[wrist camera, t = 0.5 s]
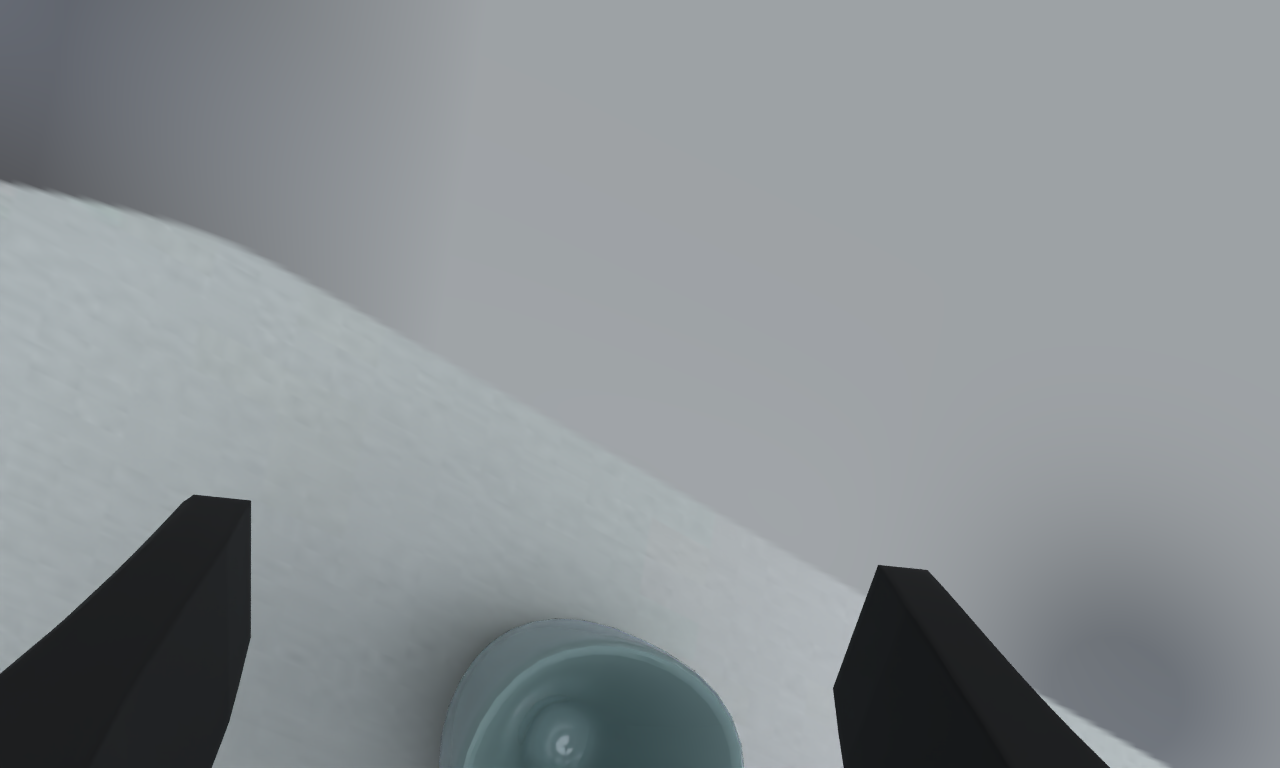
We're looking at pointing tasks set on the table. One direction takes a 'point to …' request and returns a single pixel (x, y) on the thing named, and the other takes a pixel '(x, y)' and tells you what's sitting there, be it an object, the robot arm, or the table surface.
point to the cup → (584, 705)
